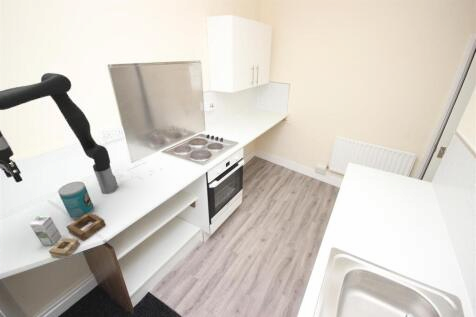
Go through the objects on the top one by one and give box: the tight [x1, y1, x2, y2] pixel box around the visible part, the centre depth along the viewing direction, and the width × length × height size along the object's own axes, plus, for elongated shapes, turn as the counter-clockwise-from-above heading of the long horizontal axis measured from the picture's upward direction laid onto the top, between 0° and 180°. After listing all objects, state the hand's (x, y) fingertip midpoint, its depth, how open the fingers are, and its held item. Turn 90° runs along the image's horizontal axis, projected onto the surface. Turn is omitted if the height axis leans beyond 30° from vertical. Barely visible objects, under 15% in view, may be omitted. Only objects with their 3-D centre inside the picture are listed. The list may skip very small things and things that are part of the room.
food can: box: [57, 181, 95, 221], centre depth 122 cm, size 12×12×18 cm
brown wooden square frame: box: [66, 212, 106, 242], centre depth 115 cm, size 12×12×4 cm
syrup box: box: [29, 215, 63, 246], centre depth 105 cm, size 6×6×14 cm
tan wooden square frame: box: [48, 237, 81, 259], centre depth 103 cm, size 8×8×4 cm
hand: (15, 178), depth 100 cm, fingers open, 8 cm apart
